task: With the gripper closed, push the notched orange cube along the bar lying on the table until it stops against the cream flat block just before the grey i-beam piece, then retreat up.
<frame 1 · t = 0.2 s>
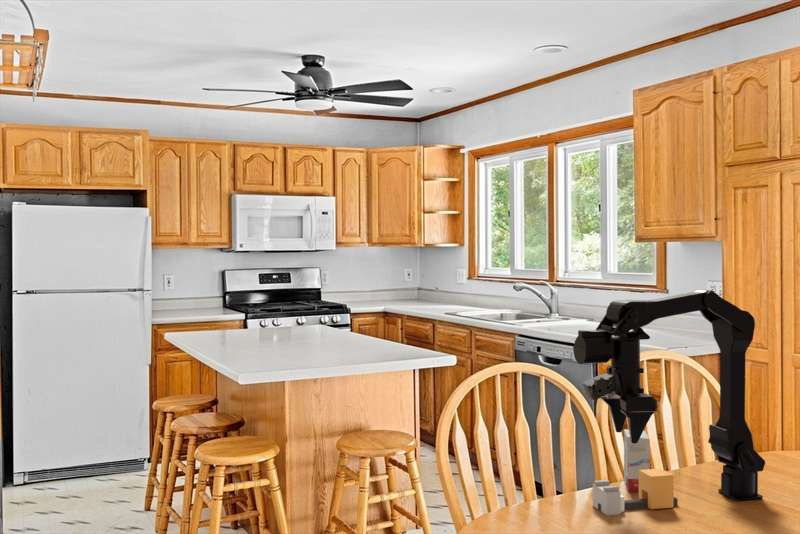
hand: (626, 437, 157), 14 cm above the table, fingers open, 9 cm apart
grey i-beam piece: (606, 510, 155), on the table
ink box: (636, 487, 170), on the table
notched orange cube: (655, 488, 157), point 4 cm above the table, slide at 0.0 cm
cream flat block: (617, 509, 155), on the table
bar: (638, 507, 156), on the table
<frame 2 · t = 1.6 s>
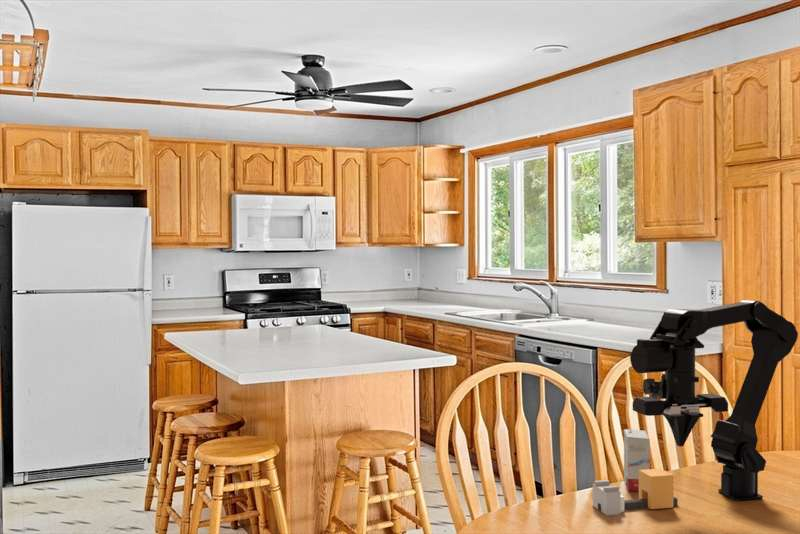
hand: (680, 446, 158), 12 cm above the table, fingers closed
nothing on the table moved.
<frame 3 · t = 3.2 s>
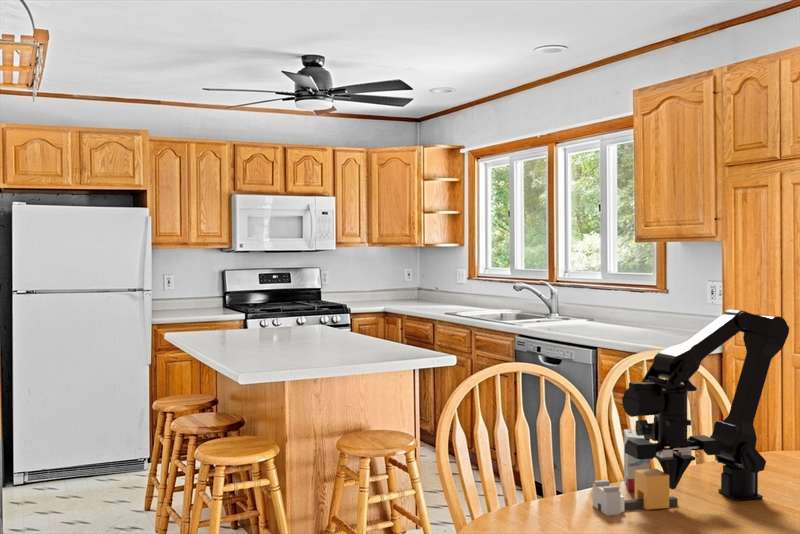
hand: (672, 488, 158), 3 cm above the table, fingers closed
notched orange cube: (651, 488, 157), point 4 cm above the table, slide at 0.9 cm, touching gripper
everything else where it was.
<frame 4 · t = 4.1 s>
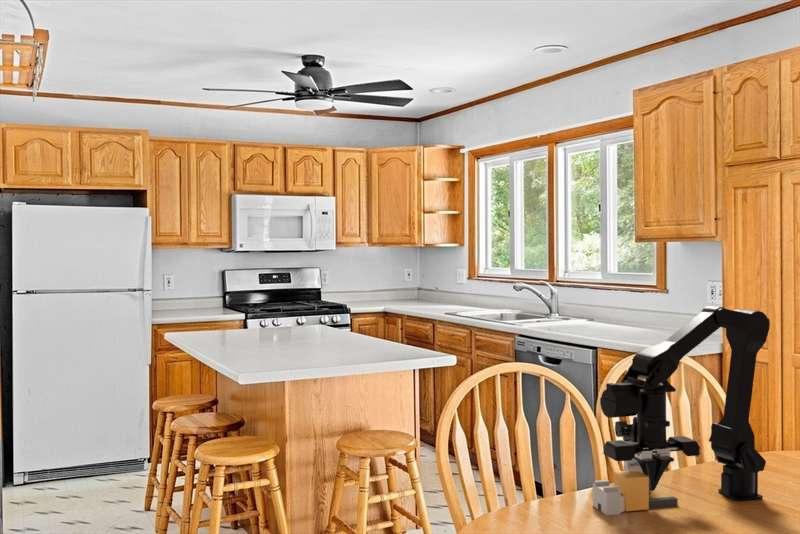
hand: (651, 490, 157), 3 cm above the table, fingers closed
notched orange cube: (631, 490, 156), point 4 cm above the table, slide at 5.5 cm, touching cream flat block, gripper
everything else where it was.
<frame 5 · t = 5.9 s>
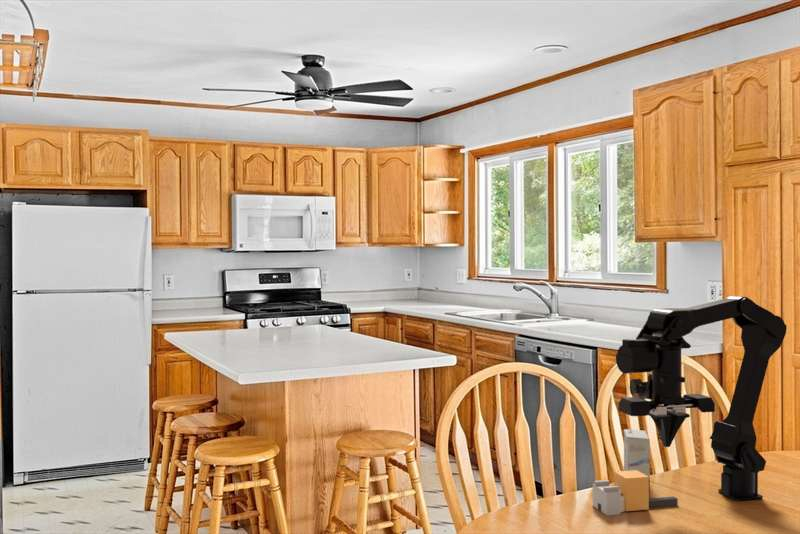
hand: (666, 446, 157), 12 cm above the table, fingers closed
notched orange cube: (631, 490, 156), point 4 cm above the table, slide at 5.5 cm, touching cream flat block
everything else where it was.
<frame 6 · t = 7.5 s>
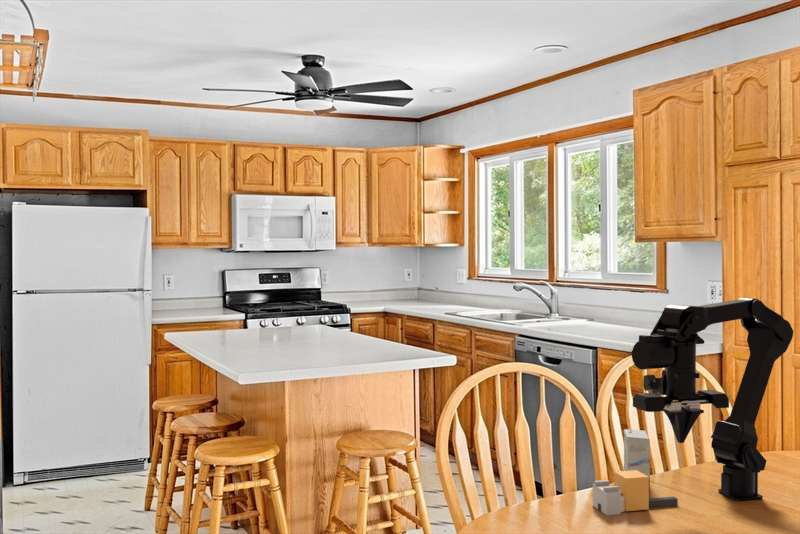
hand: (680, 442, 157), 13 cm above the table, fingers closed
nothing on the table moved.
at the end: notched orange cube slide at 5.5 cm; notched orange cube touching cream flat block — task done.
